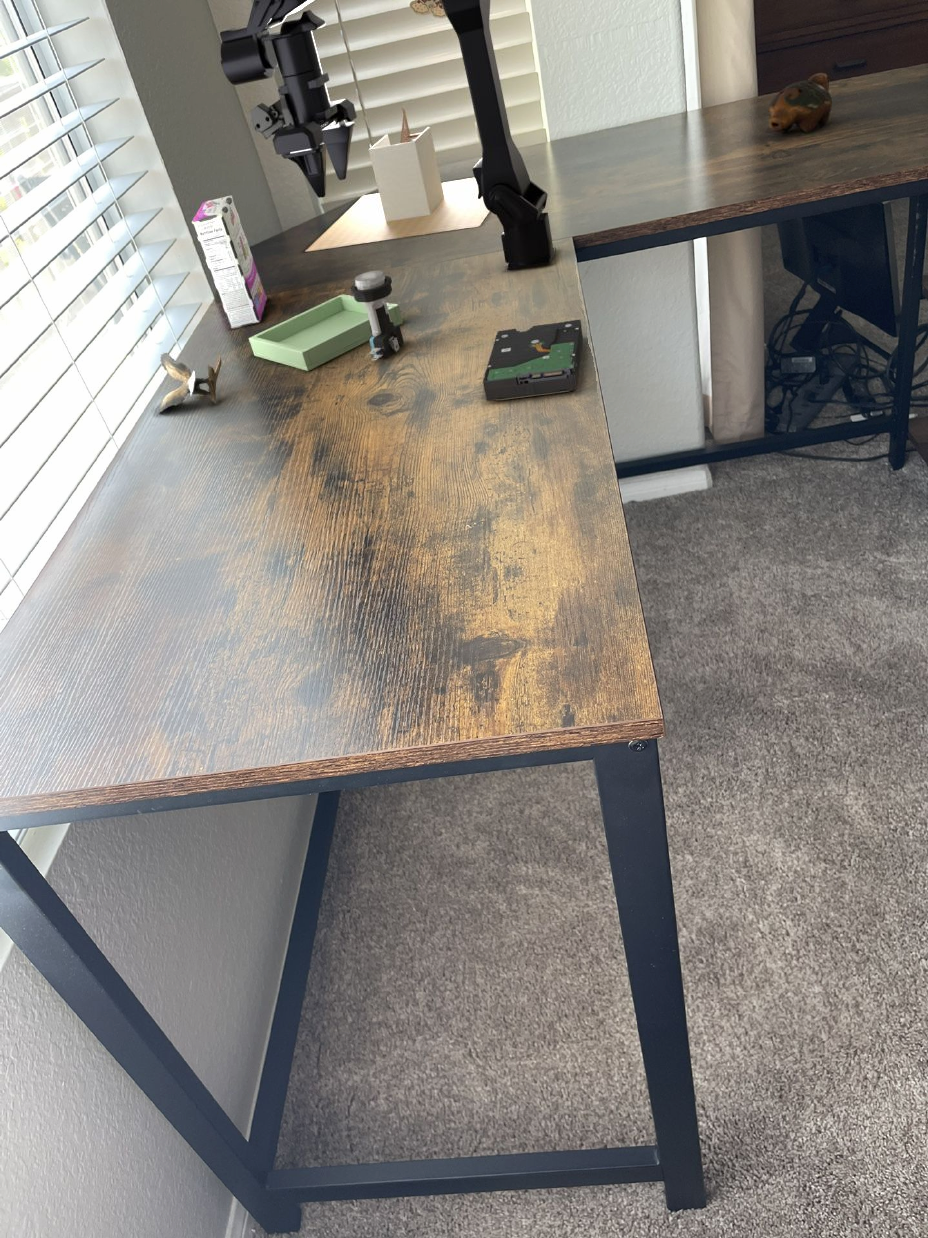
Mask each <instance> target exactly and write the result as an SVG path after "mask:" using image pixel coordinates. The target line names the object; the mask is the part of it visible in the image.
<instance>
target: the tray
mask: <svg viewBox="0 0 928 1238" xmlns="http://www.w3.org/2000/svg"><path fill="white" fill-rule="evenodd" d="M386 303H387V307H388V311H389V315H390V319H391V321H392V322H393V324H394V325H399V326H400V325H402V324H404V321H403V316H402V311H401V308H400V305H399V304H396V303H390V302H386ZM370 326H371V325H370V321H369V317H368V314H367V310H366V306H365V305H364V304H363V303H361V302H357V301H356V300H355V299H354V295H348V294H344V293H341V294H339V295H337V296H335V297H333V298H330V299H328V300H327V301H324V302H323V303H320V304H318V305H316V306H314V307H312V308H309V309H308V310H306V311H304V312H301V313H299V314H297V315H295V316H293V317H291V318H289V319H286V320H284V321H282V322H280V323H277V324H276V325H273V326H271V327H269V328H267V329H266V330H263V331H261V332H259V333H257V334H255V335H253V336H250V337H248V341H249V344H250V346H251V349H252V352H253V355H254V357H257V358H261V359H264V360H268V361H271V362H275V363H279V364H282V365H285V366H289V367H292V368H295V369H299V370H302V371H305V372H309V371H312V370H313V369H315V368H317V367H320V366H321V365H323V364H325V363H327V362H329V361H331V360H333V359H335V358H337V357H339V356H341V355H343V354H345V353H347V352H348V351H351V350H353V349H354V348H356V347H358V346H361V345H362V344H364V343H367V342H368V341H370V338H372V337H373V336H372V334H371V331H370Z"/></svg>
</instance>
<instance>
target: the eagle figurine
mask: <svg viewBox="0 0 928 1238" xmlns="http://www.w3.org/2000/svg"><path fill="white" fill-rule="evenodd" d="M159 361H160V363H161V366H162V368H163V369H164V370H165V371H166V373H167V374H169V376H170V377H172V378H173V379H174V380H175V381H178V382H180V383H182V385H181V386H180V387H178V388H177V389H174V390H172V391H170V392H169V393H167V394H166V395H165V397H164V398H163V400H162V403H161V405H160V406H158V408H157V409H156V411H157V413H158V414H159V413H162V412H164V411H165V410H166V409H168V408H169V407H172V406H178V405H179V404H181V403H183V402H184V400H185V399H186V397H187V396H188V394H190V397H192V396H193V395H194V396H195V397H200V398H202V397H203V396H207V397H208V396H209V398H210V400H211V401H212V402H213V403H215V404H218V399H217V392H216V390H217V381H218V377H219V374H220V370H221V367H222V357H220V358H218V362H217V364H216V367H215V369H214V367H212V366H210V365H207V366H206V369H207V374H208V375H207V376H206V377H205V378H203V377H197V374H196V371H195V370H193V371H192V373H191V369H190V368H188V366H187V365H185V364H184V363H183V362H182V361H177V360H175V359H174V358H172V356H171V355H170V353H169V352H162V354H160V360H159ZM202 384H206V385H207V386H208V390H206V389H203V388H201V385H202Z"/></svg>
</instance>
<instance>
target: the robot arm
mask: <svg viewBox="0 0 928 1238" xmlns="http://www.w3.org/2000/svg"><path fill="white" fill-rule="evenodd" d="M314 1H315V0H253V3H252V6H251V11H250V14H249V18H248V22H247V26H244V27H240V28H235V27H233V28H232V27H231V28H228V29H227V28H226V29H224V30H221V31H219V36H220V39H221V44H220V65H221V68H222V71H223V74H224V75H225V77H226V79H227V80H228V82H229V83H230V84H231V85H233V86H239V85H244V84H249V83H254V82H257V81H263V80H267V79H272V78H273V77H274V76H275V75H274V74H275V70H276V69H277V68H278V70H279V73H280V77H281V80H282V84H281V85H280V86H278V89H277V93H278V96H279V99H278V100H277V101H275V102H274V103H272V104H271V105H269V106H268V105H267V104H265V103H263V102H261V103H259V104H257V105H256V106H254V107H253V108H252V109H250V115H251V120H250V121H251V123H252V124H253V125H252V129H253V131H255V132H259V133H261V135H262V136H263V138H264V140H268V139H269V138H270V137H272V136H273V138H272V140H271V141H272V145H273V147H274V152H275V154H276V155H278V156H279V155H281V157H282V158H283V159H284V160H285V159H287V160H290V161H291V162H293V163H295V164H296V165H297V166H298V167H299V168H298V169H300V170H301V172H302V173H303V176H304V177H305V178H306V180H307V182H308V183H309V185H310V187H311V189H313V190H312V191H314V193H315V195H316V197H317V198H318V199H320V198H325V197H326V193H327V153H328V157H329V160H330V162H331V164H332V168H333V169H334V172H335V174H336V177H337V179H338V180H339V181H343V180H346V179H347V173H348V165H349V159H350V152H351V144H352V137H353V134H354V133H353V132H354V131H353V130H354V128H355V126H356V124H355V121H354V120H356V119H357V118H358V116H357V111H356V109H355V104H354V103H353V102H352V101H350V100H349V99H348V98H341V99H337V100H330V96H329V93H328V88H327V85H326V83H327V82H329V81H330V76H329V72H323V69H322V65H321V62H320V57H319V53H318V49H317V46H316V42H315V38H314V34H313V32H314V31H317V30H319V29H321V28H323V27H325V26H326V21H325V20H324V19H323V18H321V17H319V16H318V15H317V14H315V13H313V11H312V10H311V9H306V10H304V11H302V13H301V17H299V18H295V19H291V20H287V21H285V20H286V19H287V17H288V16H290V15H292V14H295V13H297V12H299V11H300V10H302V9H304V8H305V7H306V6H308V5H310V4H311V3H312V2H314ZM439 1H440V3H441V6H442V9H443V11H444V14H445V16H446V18H447V19H448V21H449V23H450V25H451V27H452V28H453V30H454V32H455V34H456V36H457V38H458V44H459V47H460V52H461V57H462V62H463V65H464V70H465V76H466V79H467V80H466V81H467V84H468V90H469V93H470V99H471V102H472V107H473V111H474V116H475V121H476V126H477V130H478V135H479V139H480V144H481V151H482V152H481V158H480V159H479V160H478V162H477V163H476V164H474V166H473V168H472V173H473V178H475V180H476V182H477V185H478V199H480V198H481V197H482V196H483V202H484V204H485V207H486V208H487V209H488V210H489V211H490V213H492V214H493V215H495V216H496V217H497V219H498V221H499V223H500V225H501V226H502V230H503V232H502V233H501V236H500V238H501V244H502V245H501V246H502V250H503V256H504V261H505V262H504V263H506V264H507V265H506V270H507V271H514V270H515V271H516V270H522V269H529V268H530V269H531V268H538V267H545V266H550V265H551V263H552V261H553V259H554V257H555V255H556V253H557V248H556V247H554V245H553V238H552V229H551V224H550V217H549V212H548V211H545V212H543V211H544V210H545V209H546V207H547V200H548V196H549V195H548V192H546V190H544V189H542V187H540V186H539V185H537V183H535V182H533V180H531V179H530V175H529V172H528V170H527V167H526V165H525V162H524V159H523V156H522V155H521V153H520V151H519V149H518V147H517V145H516V144H515V142H514V140H513V137H512V133H511V129H510V123H509V118H508V113H507V109H506V103H505V100H504V94H503V93H504V92H503V89H502V88H503V87H502V85H501V84H502V83H501V79H500V74H499V69H498V64H497V58H496V53H495V48H494V44H493V39H492V34H491V28H490V18H491V17H490V14H491V0H439ZM279 25H281V26H280V29H279V31H277V32H273V33H270V32H269V30H270V29H272V28H274V27H277V26H279Z"/></svg>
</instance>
